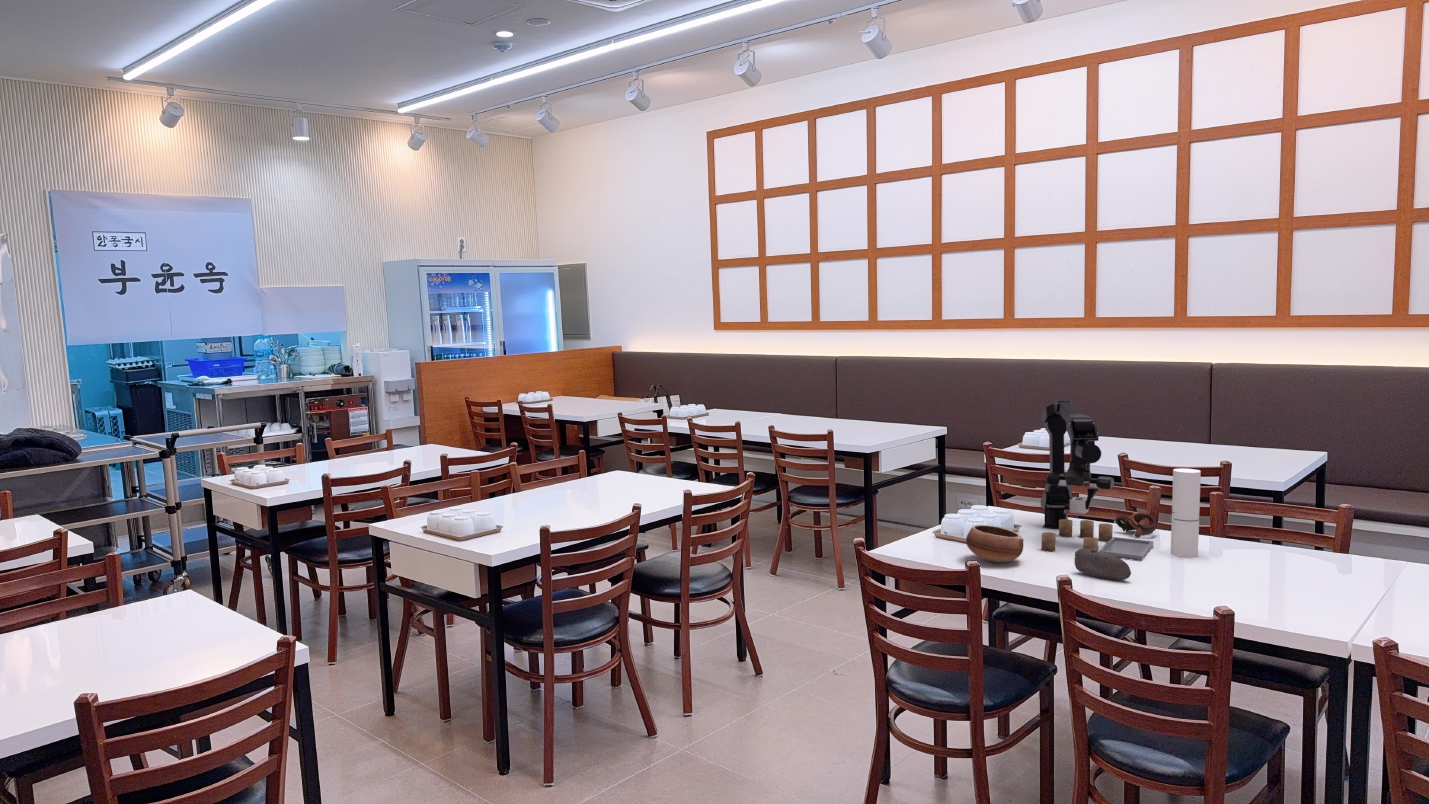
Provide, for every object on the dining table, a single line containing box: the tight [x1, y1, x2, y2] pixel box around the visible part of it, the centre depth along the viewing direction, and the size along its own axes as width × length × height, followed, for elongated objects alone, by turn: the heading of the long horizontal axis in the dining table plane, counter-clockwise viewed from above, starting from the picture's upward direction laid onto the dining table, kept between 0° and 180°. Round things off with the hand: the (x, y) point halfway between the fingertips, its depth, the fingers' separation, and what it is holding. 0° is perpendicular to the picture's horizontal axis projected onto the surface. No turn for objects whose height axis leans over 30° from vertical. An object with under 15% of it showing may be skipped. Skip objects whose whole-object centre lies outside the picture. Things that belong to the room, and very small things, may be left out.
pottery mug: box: [1114, 511, 1157, 538], centre depth 296 cm, size 12×10×8 cm
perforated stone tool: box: [1073, 547, 1132, 581], centre depth 250 cm, size 15×5×7 cm, turn 39°
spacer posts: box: [1041, 518, 1114, 553], centre depth 285 cm, size 16×26×5 cm, turn 146°
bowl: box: [965, 524, 1024, 564], centre depth 268 cm, size 16×16×10 cm
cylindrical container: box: [1170, 467, 1202, 559], centre depth 270 cm, size 7×7×25 cm
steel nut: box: [1069, 496, 1089, 515], centre depth 283 cm, size 4×4×4 cm
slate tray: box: [1098, 536, 1155, 562], centre depth 277 cm, size 12×20×2 cm, turn 146°
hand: (1079, 508), depth 283 cm, fingers closed on steel nut, 4 cm apart
